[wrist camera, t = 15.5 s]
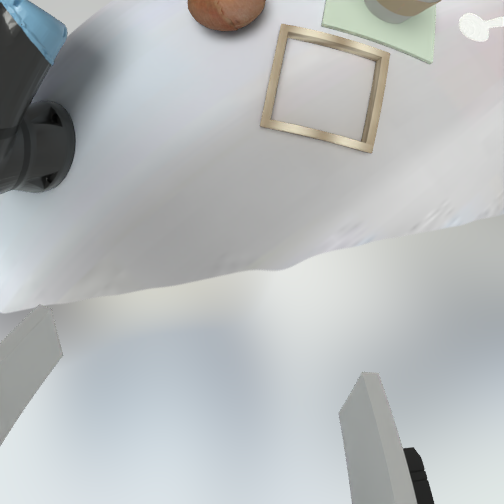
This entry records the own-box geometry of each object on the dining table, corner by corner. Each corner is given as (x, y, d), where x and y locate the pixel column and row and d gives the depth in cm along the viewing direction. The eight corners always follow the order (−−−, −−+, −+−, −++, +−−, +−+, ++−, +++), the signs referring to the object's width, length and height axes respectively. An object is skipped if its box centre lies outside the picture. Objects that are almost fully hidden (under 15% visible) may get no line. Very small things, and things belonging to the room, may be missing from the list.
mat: (321, 26, 30) (322, 23, 29) (333, -44, 25) (334, -47, 24) (429, 64, 30) (432, 62, 29) (433, -7, 25) (435, -9, 24)
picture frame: (261, 126, 36) (260, 125, 34) (281, 30, 31) (281, 23, 29) (366, 152, 36) (371, 153, 34) (383, 57, 31) (390, 53, 29)
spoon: (521, 32, 24) (523, 32, 23) (467, 46, 28) (469, 45, 28) (507, 7, 22) (509, 6, 22) (450, 16, 27) (452, 15, 26)
